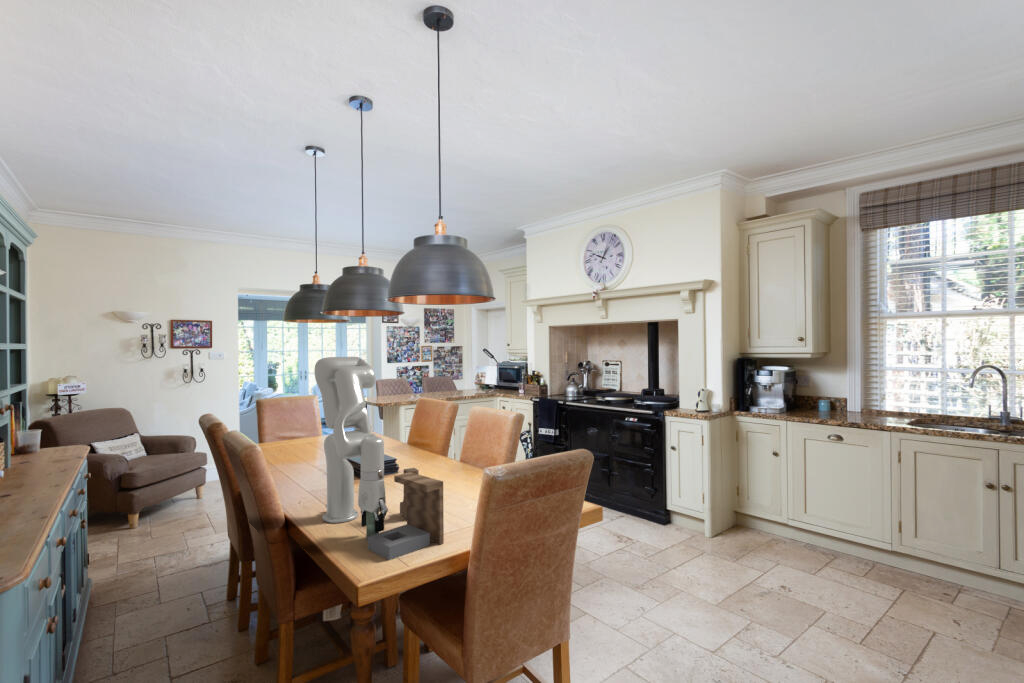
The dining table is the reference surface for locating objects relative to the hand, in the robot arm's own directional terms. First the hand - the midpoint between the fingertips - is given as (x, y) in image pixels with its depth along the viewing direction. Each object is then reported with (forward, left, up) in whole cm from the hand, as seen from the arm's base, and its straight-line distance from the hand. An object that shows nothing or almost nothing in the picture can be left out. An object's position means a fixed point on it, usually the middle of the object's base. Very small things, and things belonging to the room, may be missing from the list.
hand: (372, 528), depth 169 cm
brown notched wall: (+12, +10, -3) cm, 16 cm away
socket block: (+13, +2, -3) cm, 14 cm away
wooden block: (-9, +21, -4) cm, 23 cm away
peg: (0, 0, -3) cm, 3 cm away
